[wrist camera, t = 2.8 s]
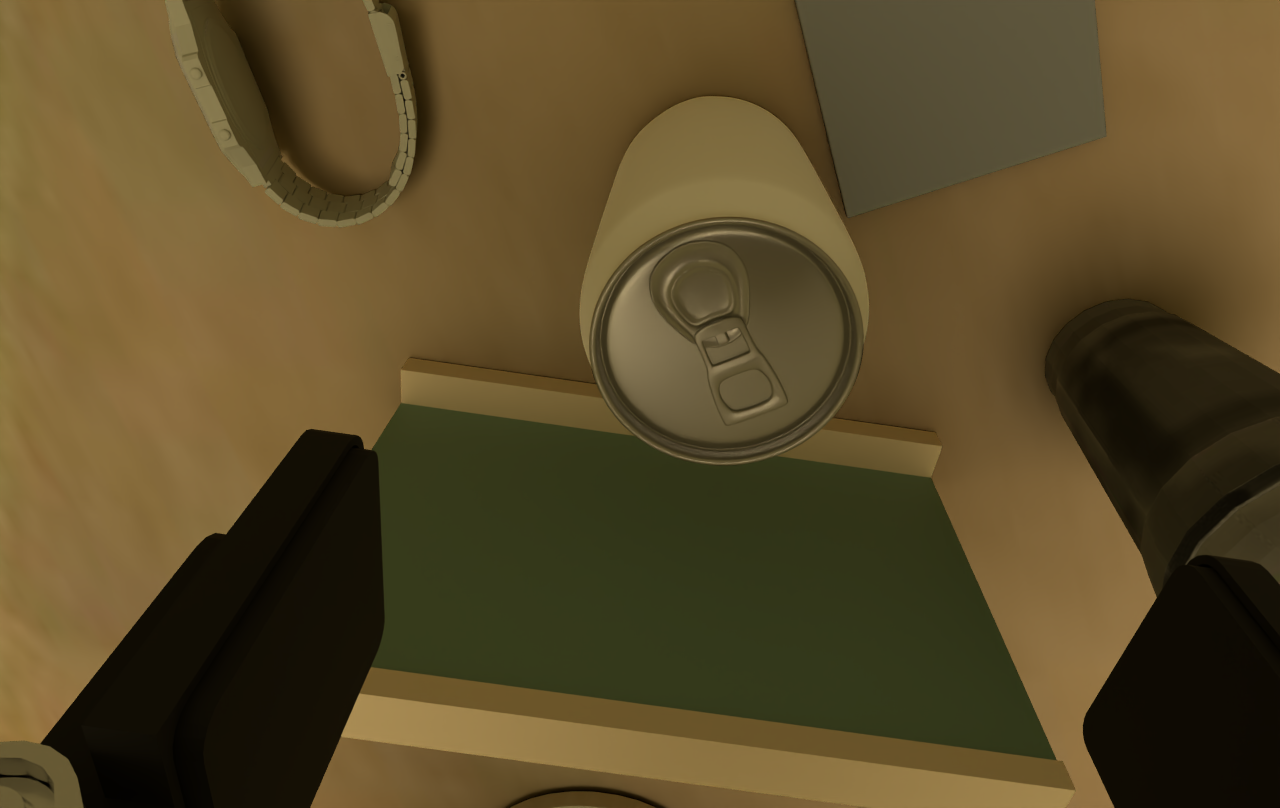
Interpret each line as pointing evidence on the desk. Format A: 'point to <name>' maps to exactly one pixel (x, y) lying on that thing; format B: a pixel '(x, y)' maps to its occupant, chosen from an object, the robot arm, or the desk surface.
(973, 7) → the grey mat
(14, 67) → the desk surface
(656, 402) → the can
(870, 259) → the desk surface
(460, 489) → the chalkboard panel
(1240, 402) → the beverage cup
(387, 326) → the desk surface
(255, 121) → the wristwatch
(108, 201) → the desk surface
